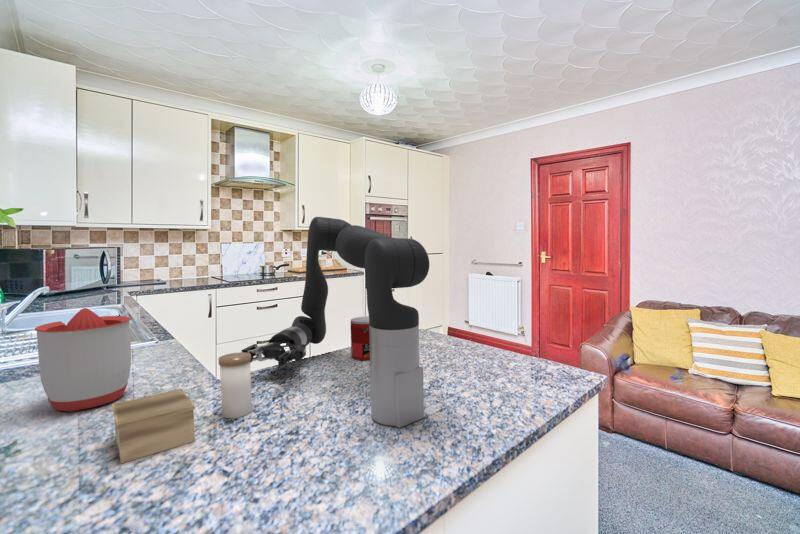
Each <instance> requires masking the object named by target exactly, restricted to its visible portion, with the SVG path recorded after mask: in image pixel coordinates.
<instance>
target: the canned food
mask: <svg viewBox="0 0 800 534" xmlns="http://www.w3.org/2000/svg"><path fill="white" fill-rule="evenodd" d="M350 346H351V347H350V349H351V350H350V351H351V352H350V353H351V357H352V358H353V359H354V360H357V361H370V333H369V316H356V317H354V318H351V319H350Z"/></svg>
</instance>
